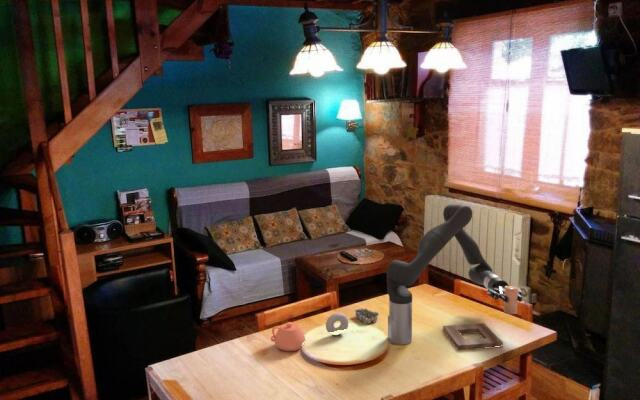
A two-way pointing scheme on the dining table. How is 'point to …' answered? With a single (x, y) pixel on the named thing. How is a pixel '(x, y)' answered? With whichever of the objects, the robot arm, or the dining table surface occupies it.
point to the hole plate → (463, 344)
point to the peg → (511, 299)
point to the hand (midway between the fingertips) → (514, 299)
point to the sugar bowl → (288, 337)
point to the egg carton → (363, 315)
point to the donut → (333, 319)
